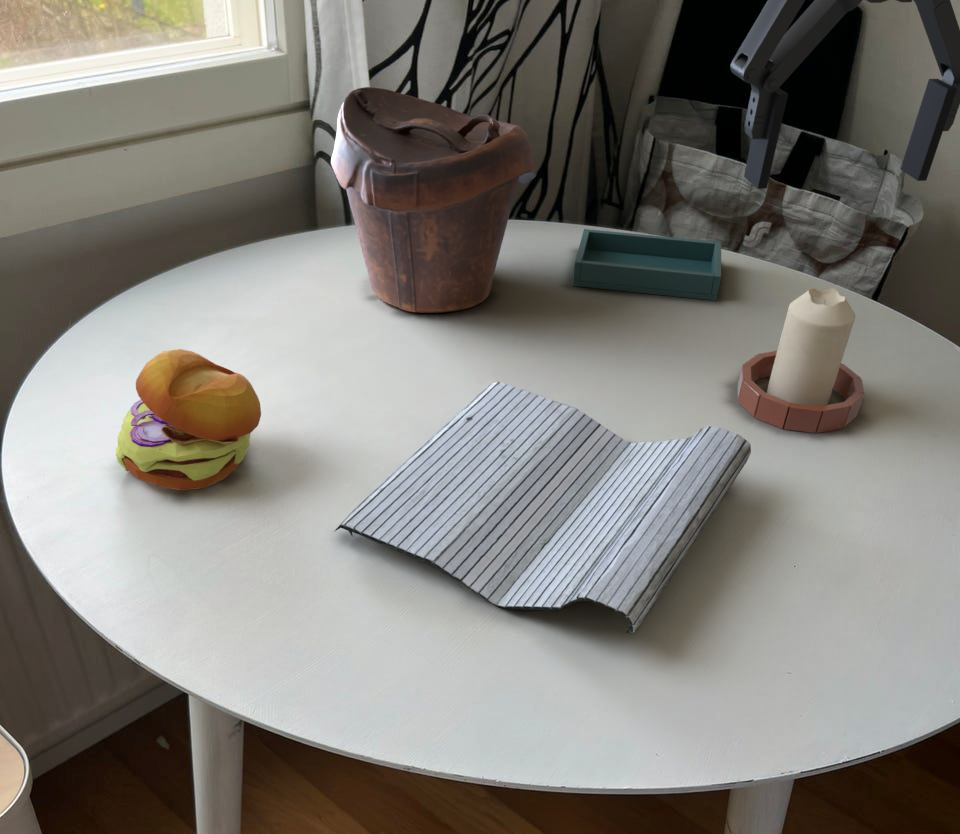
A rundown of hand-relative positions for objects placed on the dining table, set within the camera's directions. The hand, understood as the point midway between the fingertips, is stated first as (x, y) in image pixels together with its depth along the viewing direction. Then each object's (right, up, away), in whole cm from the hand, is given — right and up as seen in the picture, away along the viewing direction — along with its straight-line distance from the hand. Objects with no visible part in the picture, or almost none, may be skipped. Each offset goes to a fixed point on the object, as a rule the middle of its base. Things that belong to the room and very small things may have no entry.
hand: (835, 179), depth 75 cm
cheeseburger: (-51, -22, +2) cm, 56 cm away
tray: (-10, +4, +30) cm, 32 cm away
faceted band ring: (+1, -15, +11) cm, 19 cm away
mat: (-23, -27, -2) cm, 35 cm away
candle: (+1, -15, +11) cm, 19 cm away
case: (-33, +1, +26) cm, 42 cm away
